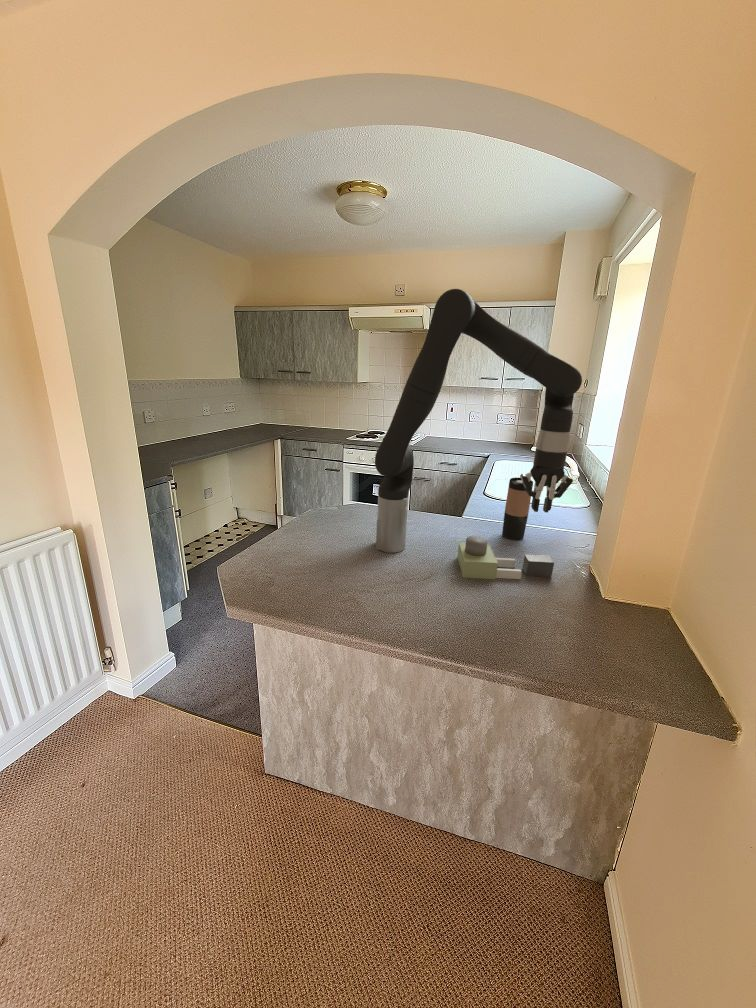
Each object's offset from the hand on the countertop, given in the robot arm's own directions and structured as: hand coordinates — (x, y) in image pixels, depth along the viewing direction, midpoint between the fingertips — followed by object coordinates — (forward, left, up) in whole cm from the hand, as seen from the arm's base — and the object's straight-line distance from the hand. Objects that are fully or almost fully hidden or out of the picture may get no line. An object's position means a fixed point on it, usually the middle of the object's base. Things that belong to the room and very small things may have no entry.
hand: (540, 510), depth 110 cm
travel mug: (+2, +27, -19) cm, 33 cm away
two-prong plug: (-11, +2, -19) cm, 22 cm away
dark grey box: (+2, 0, -19) cm, 19 cm away
